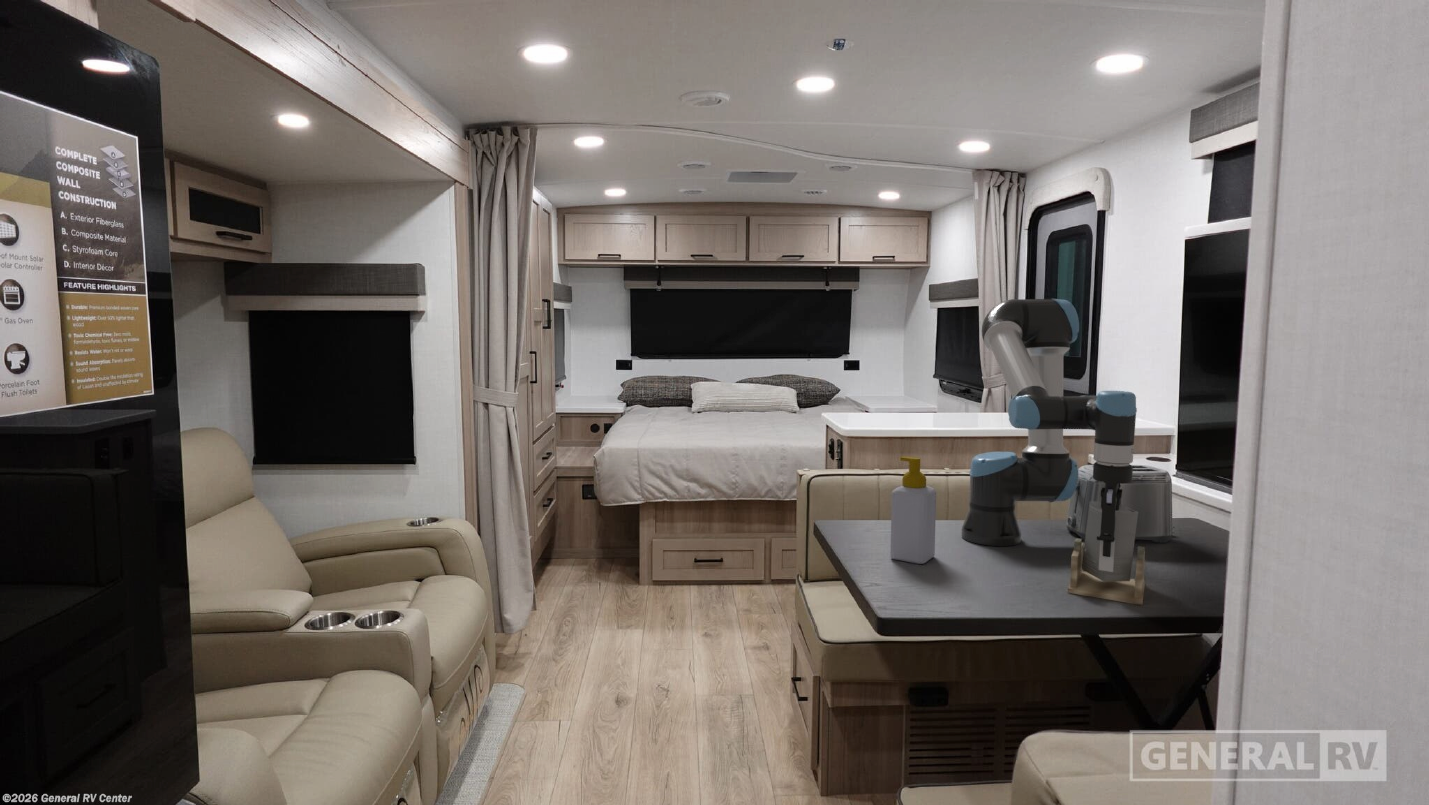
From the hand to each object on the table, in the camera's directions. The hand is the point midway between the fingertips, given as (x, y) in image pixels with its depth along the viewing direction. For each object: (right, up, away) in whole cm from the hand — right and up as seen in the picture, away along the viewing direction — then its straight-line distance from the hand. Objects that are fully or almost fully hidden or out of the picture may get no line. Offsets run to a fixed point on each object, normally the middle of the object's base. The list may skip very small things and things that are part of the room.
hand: (1107, 563), depth 164 cm
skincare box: (0, -3, 0) cm, 3 cm away
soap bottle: (-37, -4, +23) cm, 43 cm away
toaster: (+26, -2, +41) cm, 49 cm away
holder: (0, -6, 0) cm, 6 cm away
